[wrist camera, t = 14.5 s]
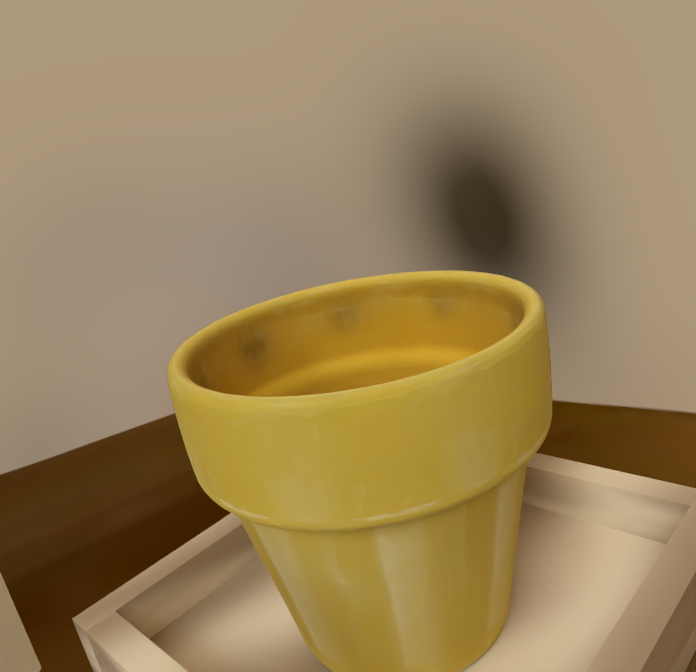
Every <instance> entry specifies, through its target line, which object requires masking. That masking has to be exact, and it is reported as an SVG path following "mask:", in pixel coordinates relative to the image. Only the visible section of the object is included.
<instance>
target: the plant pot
mask: <svg viewBox="0 0 696 672" xmlns="http://www.w3.org/2000/svg"><path fill="white" fill-rule="evenodd" d="M167 380H168V386H169V390H170V394H171V398H172V402H173V406H174V410H175V414H176V417H177V421H178V424H179V428H180V431H181V434H182V437H183V441H184V444H185V447H186V450H187V453H188V456H189V459H190V462H191V464H192V467H193V470H194V473H195V475H196V477H197V480H198V482H199V484H200V485H201V487H202V488H203V490H204V491H205V493H206V494H207V495H208V496H209V497H210V498H211V499H212V500H213V501H214V502H216V503H217V504H218V505H220V506H221V507H222V508H224V509H225V510H227V511H229V512H231V513H233V514H235V515H237V516H238V517H239V519H240V521H241V523H242V525H243V526H244V528H245V530H246V532H247V534H248V536H249V537H250V539H251V541H252V543H253V545H254V547H255V548H256V550H257V552H258V554H259V556H260V558H261V559H262V561H263V563H264V565H265V567H266V569H267V570H268V572H269V574H270V576H271V578H272V580H273V581H274V583H275V585H276V587H277V589H278V591H279V593H280V594H281V596H282V598H283V600H284V602H285V604H286V606H287V608H288V610H289V612H290V613H291V615H292V617H293V619H294V621H295V623H296V625H297V627H298V629H299V631H300V633H301V635H302V637H303V639H304V641H305V643H306V645H307V646H308V648H309V649H310V651H311V652H312V653H313V654H314V656H315V657H316V658H317V659H318V660H319V661H320V662H321V663H322V664H323V665H324V666H326V667H327V668H328V669H330V670H331V671H333V672H460V671H461V670H463V669H465V668H467V667H468V666H470V665H471V664H473V663H474V662H475V661H476V660H478V659H479V658H480V657H481V656H482V655H484V654H485V653H486V651H487V650H488V649H489V648H490V647H491V646H492V645H493V643H494V642H495V641H496V639H497V638H498V636H499V634H500V632H501V631H502V629H503V627H504V624H505V622H506V619H507V616H508V612H509V605H510V594H511V585H512V576H513V567H514V559H515V551H516V544H517V536H518V528H519V520H520V512H521V504H522V496H523V489H524V481H525V474H526V467H527V462H528V461H529V460H530V459H531V458H532V457H533V455H534V454H535V453H536V452H537V451H538V449H539V448H540V446H541V445H542V443H543V442H544V440H545V438H546V436H547V433H548V431H549V428H550V424H551V419H552V382H551V363H550V349H549V339H548V329H547V320H546V311H545V306H544V304H543V302H542V299H541V298H540V296H539V295H538V294H537V293H536V291H534V290H533V289H532V288H531V287H529V286H527V285H526V284H524V283H522V282H520V281H517V280H515V279H511V278H508V277H505V276H501V275H495V274H490V273H481V272H471V271H421V272H407V273H395V274H386V275H379V276H370V277H364V278H358V279H351V280H345V281H340V282H335V283H331V284H326V285H321V286H317V287H313V288H309V289H305V290H301V291H298V292H294V293H290V294H287V295H284V296H280V297H277V298H274V299H271V300H268V301H265V302H262V303H259V304H256V305H253V306H250V307H248V308H245V309H243V310H240V311H238V312H235V313H233V314H230V315H228V316H226V317H224V318H222V319H220V320H218V321H216V322H214V323H212V324H210V325H209V326H207V327H205V328H203V329H201V330H200V331H198V332H197V333H195V334H194V335H192V336H191V337H190V338H188V339H187V340H186V341H185V342H184V343H183V344H182V345H181V346H179V348H178V349H177V350H176V351H175V353H174V354H173V356H172V358H171V360H170V362H169V365H168V371H167Z"/></svg>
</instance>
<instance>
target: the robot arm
mask: <svg viewBox="0 0 696 672" xmlns="http://www.w3.org/2000/svg"><path fill="white" fill-rule="evenodd" d="M40 670H41V665H40V663H39V661H38V658H37V656H36V654H35V652H34V649H33V647H32V645H31V642H30V640H29V638H28V635H27V633H26V631H25V628H24V626H23V624H22V622H21V619H20V617H19V615H18V612H17V610H16V608H15V605H14V603H13V601H12V599H11V596H10V594H9V592H8V589H7V587H6V585H5V582H4V580H3V578H2V575H1V573H0V672H39V671H40Z"/></svg>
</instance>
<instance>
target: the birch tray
mask: <svg viewBox="0 0 696 672" xmlns="http://www.w3.org/2000/svg"><path fill="white" fill-rule="evenodd" d="M72 620H73V622H74V625H75V627H76V630H77V632H78V634H79V637H80V639H81V642H82V644H83V647H84V649H85V652H86V654H87V657H88V659H89V662H90V664H91V667H92V669H93V672H333V671H331V670H330V669H328V668H327V667H326V666H324V665H323V664H322V663H321V662H320V661H319V660H318V659H317V658H316V657H315V656H314V654H313V653H312V652H311V651H310V649H309V648H308V646H307V645H306V643H305V641H304V639H303V637H302V635H301V633H300V631H299V629H298V627H297V625H296V623H295V621H294V619H293V617H292V615H291V613H290V612H289V610H288V608H287V606H286V604H285V602H284V600H283V598H282V596H281V594H280V593H279V591H278V589H277V587H276V585H275V583H274V581H273V580H272V578H271V576H270V574H269V572H268V570H267V569H266V567H265V565H264V563H263V561H262V559H261V558H260V556H259V554H258V552H257V550H256V548H255V547H254V545H253V543H252V541H251V539H250V537H249V536H248V534H247V532H246V530H245V528H244V526H243V525H242V523H241V521H240V519H239V517H238V516H237V515H235V514H233V513H231V514H229V515H228V516H226V517H225V518H223V519H222V520H220V521H219V522H217V523H216V524H214V525H213V526H211V527H210V528H208V529H207V530H205V531H204V532H202V533H200V534H199V535H197V536H196V537H194V538H193V539H191V540H190V541H188V542H187V543H185V544H184V545H182V546H181V547H179V548H178V549H176V550H175V551H173V552H172V553H170V554H169V555H167V556H166V557H164V558H163V559H161V560H160V561H158V562H157V563H155V564H154V565H152V566H151V567H149V568H148V569H146V570H145V571H143V572H142V573H140V574H139V575H137V576H136V577H134V578H133V579H131V580H130V581H128V582H127V583H125V584H124V585H122V586H121V587H119V588H118V589H116V590H115V591H113V592H112V593H110V594H109V595H107V596H106V597H104V598H103V599H101V600H100V601H98V602H97V603H95V604H94V605H92V606H91V607H89V608H88V609H86V610H85V611H83V612H82V613H80V614H79V615H77V616H76V617H74V618H73V619H72ZM695 651H696V488H691V487H687V486H683V485H678V484H674V483H669V482H665V481H660V480H656V479H651V478H647V477H642V476H638V475H633V474H629V473H624V472H620V471H615V470H611V469H606V468H602V467H598V466H593V465H589V464H584V463H580V462H575V461H571V460H566V459H562V458H557V457H553V456H548V455H544V454H539V453H535V454H534V455H533V457H532V458H531V459H530V460H529V461H528V462H527V467H526V474H525V481H524V489H523V496H522V504H521V512H520V520H519V528H518V536H517V544H516V551H515V559H514V567H513V576H512V585H511V594H510V605H509V612H508V616H507V619H506V622H505V624H504V627H503V629H502V631H501V632H500V634H499V636H498V638H497V639H496V641H495V642H494V643H493V645H492V646H491V647H490V648H489V649H488V650H487V651H486V653H485V654H484V655H482V656H481V657H480V658H479V659H478V660H476V661H475V662H474V663H473V664H471V665H470V666H468V667H467V668H465V669H463V670H461V671H460V672H685V671H686V669H687V667H688V665H689V663H690V661H691V659H692V657H693V655H694V653H695Z"/></svg>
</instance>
